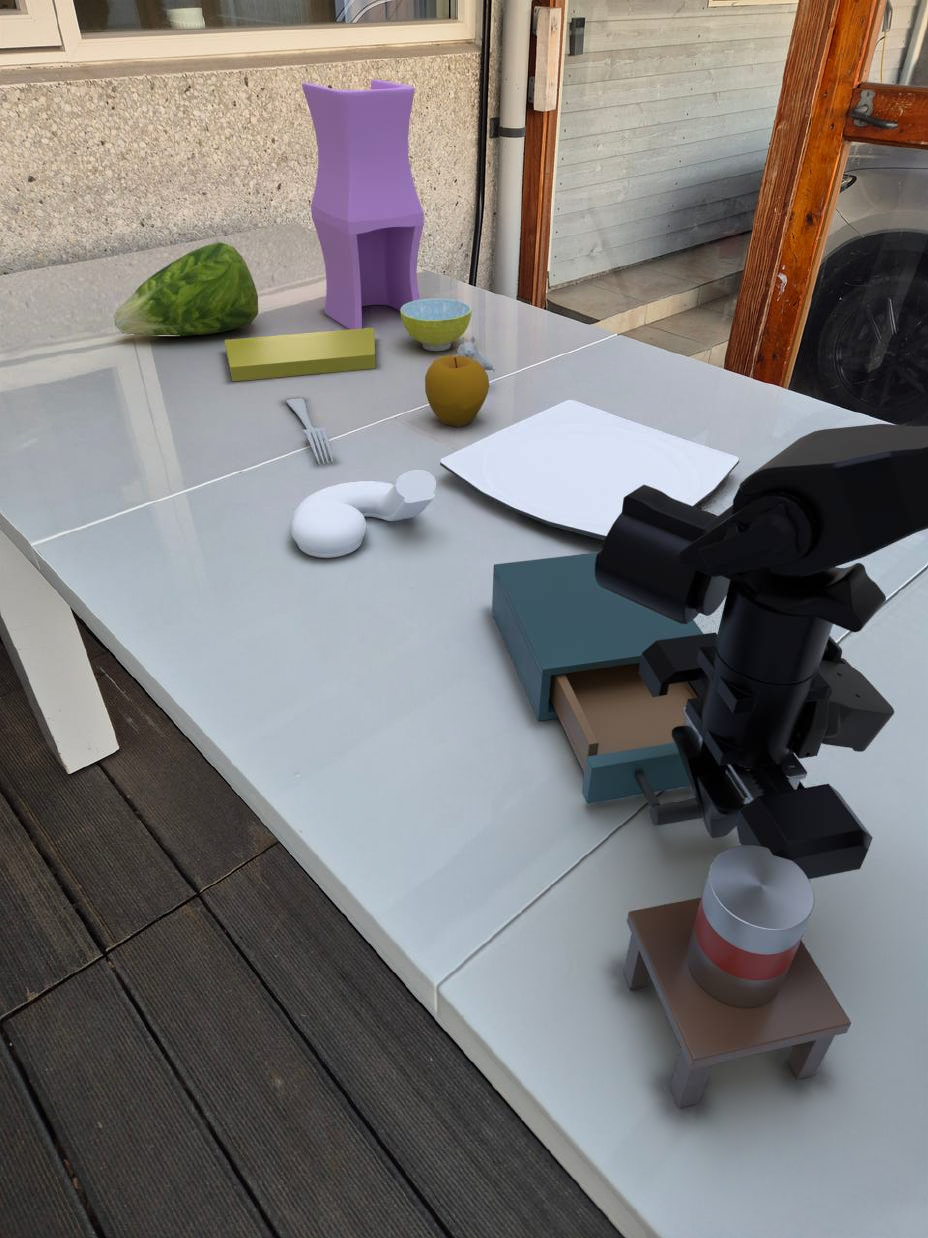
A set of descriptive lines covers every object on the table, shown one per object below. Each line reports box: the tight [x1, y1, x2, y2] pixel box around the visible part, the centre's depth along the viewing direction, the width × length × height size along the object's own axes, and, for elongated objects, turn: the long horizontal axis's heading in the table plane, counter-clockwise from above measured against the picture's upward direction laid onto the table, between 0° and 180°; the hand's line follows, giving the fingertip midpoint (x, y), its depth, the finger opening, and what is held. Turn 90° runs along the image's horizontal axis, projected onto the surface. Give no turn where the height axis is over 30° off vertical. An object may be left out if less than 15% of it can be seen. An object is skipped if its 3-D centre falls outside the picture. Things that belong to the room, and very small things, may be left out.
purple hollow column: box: [301, 79, 425, 330], centre depth 147 cm, size 14×14×35 cm
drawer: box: [549, 663, 703, 827], centre depth 69 cm, size 19×13×4 cm
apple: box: [424, 355, 490, 427], centre depth 119 cm, size 8×8×9 cm
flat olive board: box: [224, 327, 376, 382], centre depth 139 cm, size 12×2×24 cm
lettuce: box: [113, 241, 259, 338], centre depth 145 cm, size 14×23×13 cm, turn 111°
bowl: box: [399, 297, 473, 352], centre depth 143 cm, size 11×12×6 cm
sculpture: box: [290, 469, 437, 559], centre depth 96 cm, size 12×15×8 cm
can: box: [687, 844, 815, 1008], centre depth 47 cm, size 5×5×7 cm
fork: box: [285, 397, 334, 466], centre depth 118 cm, size 3×21×3 cm, turn 20°
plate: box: [439, 399, 740, 541], centre depth 107 cm, size 29×29×3 cm
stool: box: [623, 897, 852, 1110], centre depth 51 cm, size 9×9×6 cm
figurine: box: [455, 336, 495, 372], centre depth 129 cm, size 8×6×8 cm
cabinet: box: [491, 551, 704, 722], centre depth 79 cm, size 16×15×6 cm
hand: (716, 833), depth 60 cm, fingers closed
